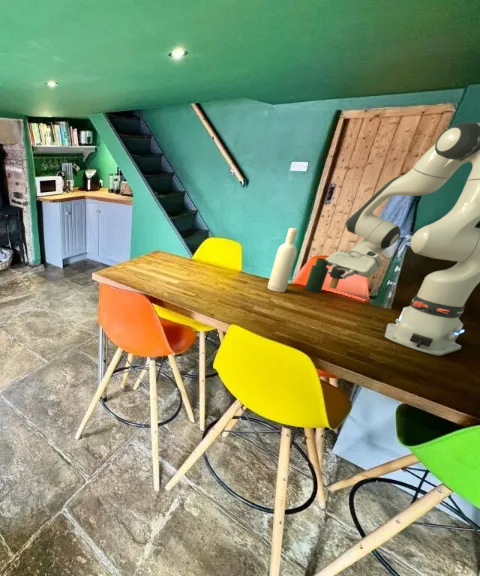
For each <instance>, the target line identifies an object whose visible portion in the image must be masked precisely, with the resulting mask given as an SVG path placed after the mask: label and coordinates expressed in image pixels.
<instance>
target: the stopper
mask: <svg viewBox="0 0 480 576" xmlns="http://www.w3.org/2000/svg"><path fill="white" fill-rule="evenodd" d="M343 273H344V274H345V273H346V271H344V270H341V269H332V271H331V274H329V277H330V278H331V281H330V284H329V288H330V289H337V287H338V284H339V282H340V280H344V279H343V278H341V277H340V275H342V274H343Z"/></svg>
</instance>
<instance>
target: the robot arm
mask: <svg viewBox="0 0 480 576" xmlns="http://www.w3.org/2000/svg"><path fill="white" fill-rule="evenodd" d="M466 163H471V165H472V168H471V170H470V173H469V175H468V177H467V179H466V182H465V184H464V187H463V189H462V191H461V193H460V195H459V197H458V199H457V201H456V202H455V204H454V206H453V207H452V208H451V209H450V210H449V211H448V213H446V214H445V215H444V216H442V217H441V218H439V219H438V220H435V221H434V222H432V223H430V224H427V225H425V226H422V227H420V228H419V229H418V230H417V231H415V232H414V234H413V235H412V236H411V239H410V249H411V250H412V252H413V253H414V254H417V255H420V256H423V257H427V258H430V259H436V260H442V261H443V260H444V261H451V262H456V264H454V265H453V266H452V267H449V268H447V269H441V270H436V271H432V272H431V273H429V274H427V275H426V276H424V279H423V280H422V283H421V285H420V287H419V290H418V292H417V294H415V295H414V296H413V298H412V299H411V302H410V303H409V304H410V305H409V306H405V307H403V308H402V311H401V313H400V315H399V317H398V318H395V319H394V322H395V323H388V324H387V325H386V327H385V332H384V338H386V339H388V340H390V341H392V342H395V343H397V344H400V345H402V346H405V347H407V348H409V349H410V348H411V349H412V350H416V351H419V352H422V353H425V354H429V355H434V356H437V357H441V356H445V355H448V354H451V353H453V352H454V353H455V352H457V351H460V350H461V349H462V345H461V344H458V343H456V341H457V338H458V337H459V335H460V334H462V333H464V332H465V329H463V327H464V323H463V322H462V321H461V320H460V317H461V316H462V314H463V313H464V311H465V308H466V306H465V304H466V303H467V300H468V299H469V297H470V295H471V294H472V292H473V291H474V290H475V288H476V286H477V285H478V284H479V283H480V227H476V226H477V224H478V223H479V222H480V122H475V121H466V122H459V123H456V124H453V125H451V126H449V127H448V128H446V129H445V130H444V131H443V132H442V133H441V134H440V135H439V137H438V138H437V140H436V142H435V144H433V145H432V146H431V147H430V148H429V149H427V151H426V152H425V153H424V154H423V155H422V156H421V157H420V158H419V159H418V160H417V162H416V163H415V164H414V165H413V167H412V168H411V169H410V170H409V171H408V172H406V173H405V174H403V175H402V176H397V177H394V178H392V179H391V180H389V181H388V182H387V183H385V184H384V185H383V186H382V187H381V188H380V189H379V190H378V191H376V192H375V194H374V195H372V197H371V198H369V200H367V201H366V202H365V204H363V205H362V206H361V207H360V208H359V209H358V210H357V211H356V212H354V213H353V214H352V215H350V216H349V218H348V219H347V221H346V222H345V227H346V230H347V232H349V233H352V234H353V235H357V236H359V237H361V238H363V240H362V241H361V242H358V243H357V244H356V245H354V246H353V247H352V248H351V249H350V250H349V251H345V250H343V249H342V250H338V251H335V252H334V253H332V254H330V255H329V256H328V257H326V258H324V259H325V260H328V261H327V266H328V267H330V269H328V272H327V274H328V275H330V274H331V271H332V269H340V270H344V271H345V274H344V273H343V274H342V275H340V277H341V278H343V279H342V280H345V279H347V278H349V277H352V276H354V275H357V276H361V277H363V278H369V277H371V276H372V275H374V274H375V273H376V272H377V271H378V270H379V268H381V267H382V266H383V264H384V263H383V261H382V257H381V255H379V254H380V253H381V252H382V253H383V252H384V251H385V250H387V249H388V248H390V247H391V246H393V245H394V244H395V243H396V242H397V241H398V240H399V239H400V237H401V228H400V226H399V225H397V224H396V223H393V222H391V221H389V220H387V219H385V218H382V217H379V216H377V215H375V214H374V212H375V210H376V209H377V208H378V207H380V206H381V205H382V204H383V203H384V202H385V201H386V200H387V199H388V198H390V197H392V196H408V197H419V196H425V195H429V194H432V193H435V192H436V191H438V190H439V189H441V188H442V187H443V186H444V185H445V184H446V183H447V181H449V180H450V178H451V177H452V176H453V175H454V174H455V173H456V171H457V170H458V169H459V168H460V167H461V166H463V165H464V164H466Z"/></svg>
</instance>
